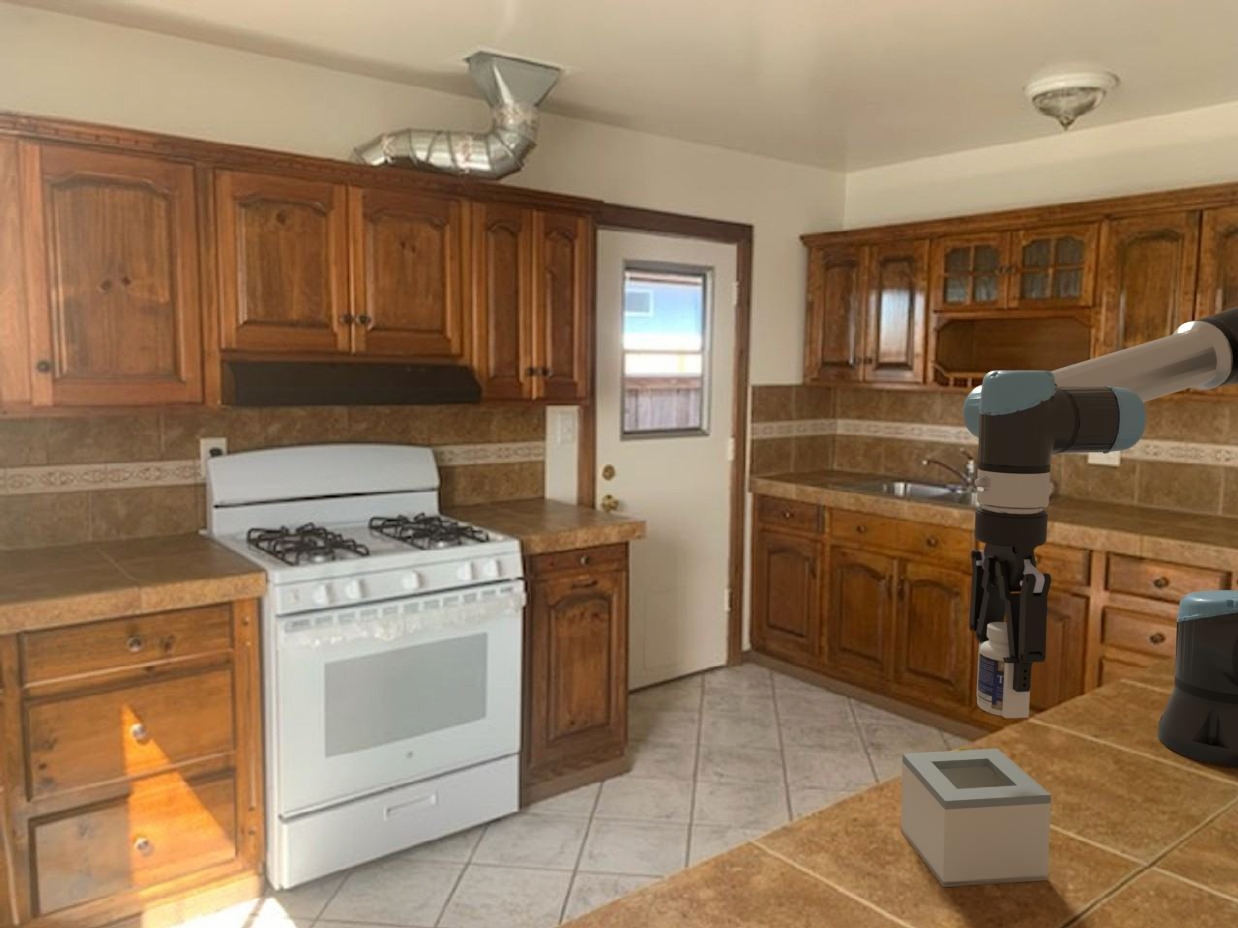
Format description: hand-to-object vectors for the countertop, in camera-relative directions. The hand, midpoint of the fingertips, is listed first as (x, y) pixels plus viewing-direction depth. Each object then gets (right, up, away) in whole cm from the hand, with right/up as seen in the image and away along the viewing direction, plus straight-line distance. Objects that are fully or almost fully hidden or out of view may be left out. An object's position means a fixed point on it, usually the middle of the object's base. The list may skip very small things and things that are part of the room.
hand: (1001, 705), depth 106 cm
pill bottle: (0, -1, 0) cm, 1 cm away
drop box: (-3, -18, +2) cm, 18 cm away
